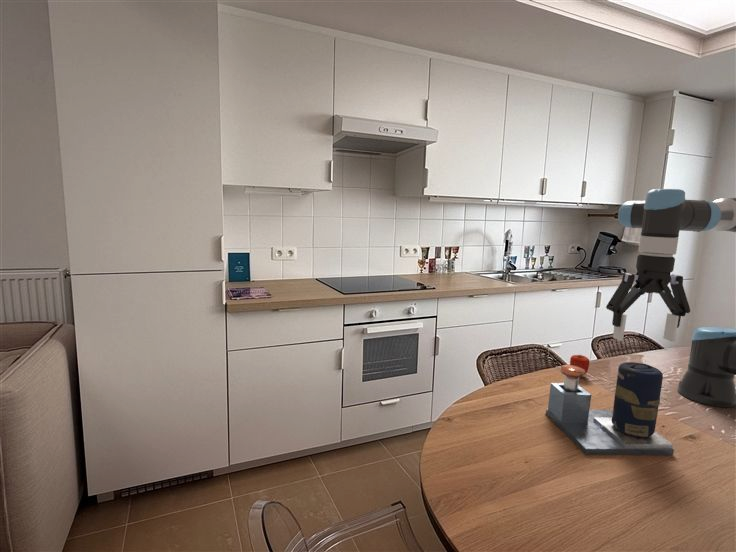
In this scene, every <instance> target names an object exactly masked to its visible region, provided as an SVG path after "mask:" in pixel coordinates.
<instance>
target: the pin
mask: <svg viewBox="0 0 736 552" xmlns="http://www.w3.org/2000/svg"><path fill="white" fill-rule="evenodd" d="M560 373H561V374H562V375H564V379H563V383H564V385H563V390H565V391H566V392H578V385H579V384H580V383H579V382H580V378H584V377H585V376H586V375H585V370H584V369H582V368H580V367H577V366H572V365H570V364H562V365H561V366H560ZM579 386H580V385H579Z"/></svg>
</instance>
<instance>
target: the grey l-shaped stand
mask: <svg viewBox="0 0 736 552" xmlns="http://www.w3.org/2000/svg"><path fill="white" fill-rule="evenodd" d="M563 385H564V382H560V383H559V382H550V388H549V395H548V396H549V397H548V405H547V408H546V410H545V415H546V416H547V417H548V418H549V419H550V420H551V422H553V423H554V424H555V425H556V426H557V427H558V428H559V429H560V430H561V431H562V432H563V433H564V434H565V436H567V437H568V438H569V439H570V441H572V443H573V444H574V445H576V446H577V448H579V450H580V451H581V452H582V453H583V454H584V455H590V456H591V455H596V456H597V455H604V456H605V455H609V456H610V455H611V456H613V455H614V456H618V455H619V456H624V455H625V456H674V452H675V449H674V448H673V447H674V444H673V443H672V442H670V441H669V440H667V438H665V437H664V436H662V435H660V434H659V433H658V432H657V431H655V432H654V434H653V435H651V436H648V437H639V436H634V435H630V434H627V433H625V432H623V431H621V430H619V429H617V428H616V427H615V426H614V425H613V423H612V414H613V409H591V408H590V406H591V400H592V394H591V393H589V392H588V391H587V390H585V389H584V388H583V387H581V386H580V385H578V392H566V391H565V390H563Z"/></svg>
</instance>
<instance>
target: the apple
mask: <svg viewBox="0 0 736 552" xmlns="http://www.w3.org/2000/svg"><path fill="white" fill-rule="evenodd" d="M569 358H570V359H569V365H572V366H577V367H580V368H582V369H584V370H585V376H586V375H587V373H588V371H589V367H590V359H589V358H588V357H587V356H585V355H582V354H574V355H573V354H572V355H571V356H570V357H569Z"/></svg>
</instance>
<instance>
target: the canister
mask: <svg viewBox="0 0 736 552" xmlns="http://www.w3.org/2000/svg"><path fill="white" fill-rule="evenodd" d="M663 377H664V376H663V372H662V370H660V369H659V368H657V367H654V366H652V365H649V364H647V363H643V362H642V363H641V362H637V361H636V362H635V361H627V362H626V361H625V362H622V363H620V364H619V365H618V368H617V375H616V385H615V390H614V391H615V392H614V400H613V407H612V410H613V414H612V423H613V425H614V426H615V427H616V428H617V429H619V430H621V431H623V432H625V433H627V434H630V435H634V436H639V437H648V436H651V435H653V434H654V432H656V425H657V419H658V415H659V414H658V412H659V405H660V402H661V392H662V386H663Z"/></svg>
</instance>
